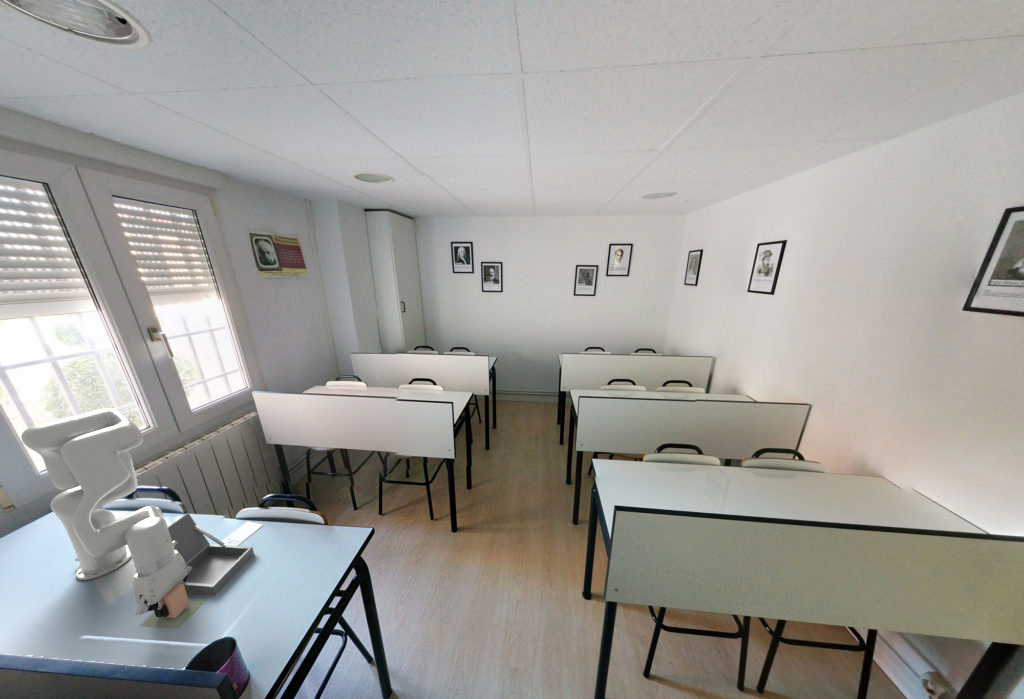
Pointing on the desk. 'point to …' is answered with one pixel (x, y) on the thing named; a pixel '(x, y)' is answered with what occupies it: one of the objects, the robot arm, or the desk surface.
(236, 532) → the external hard drive
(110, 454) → the robot arm
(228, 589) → the desk surface
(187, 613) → the olive mat
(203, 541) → the equipment case
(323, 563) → the desk surface
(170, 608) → the block
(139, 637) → the desk surface
